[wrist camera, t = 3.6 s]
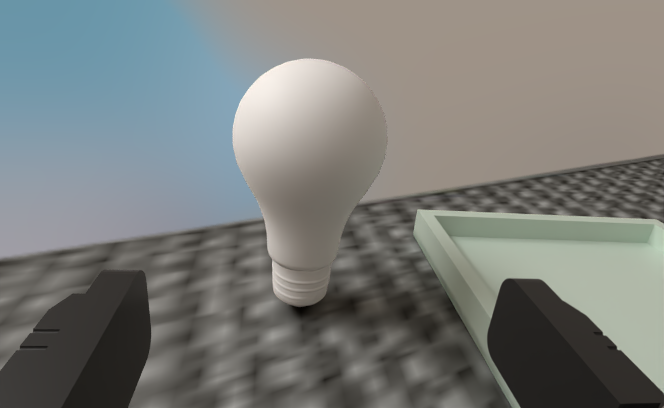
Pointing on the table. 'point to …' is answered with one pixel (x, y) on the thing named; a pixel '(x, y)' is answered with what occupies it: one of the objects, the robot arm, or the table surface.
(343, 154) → the lightbulb
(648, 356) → the parts tray
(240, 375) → the table surface
